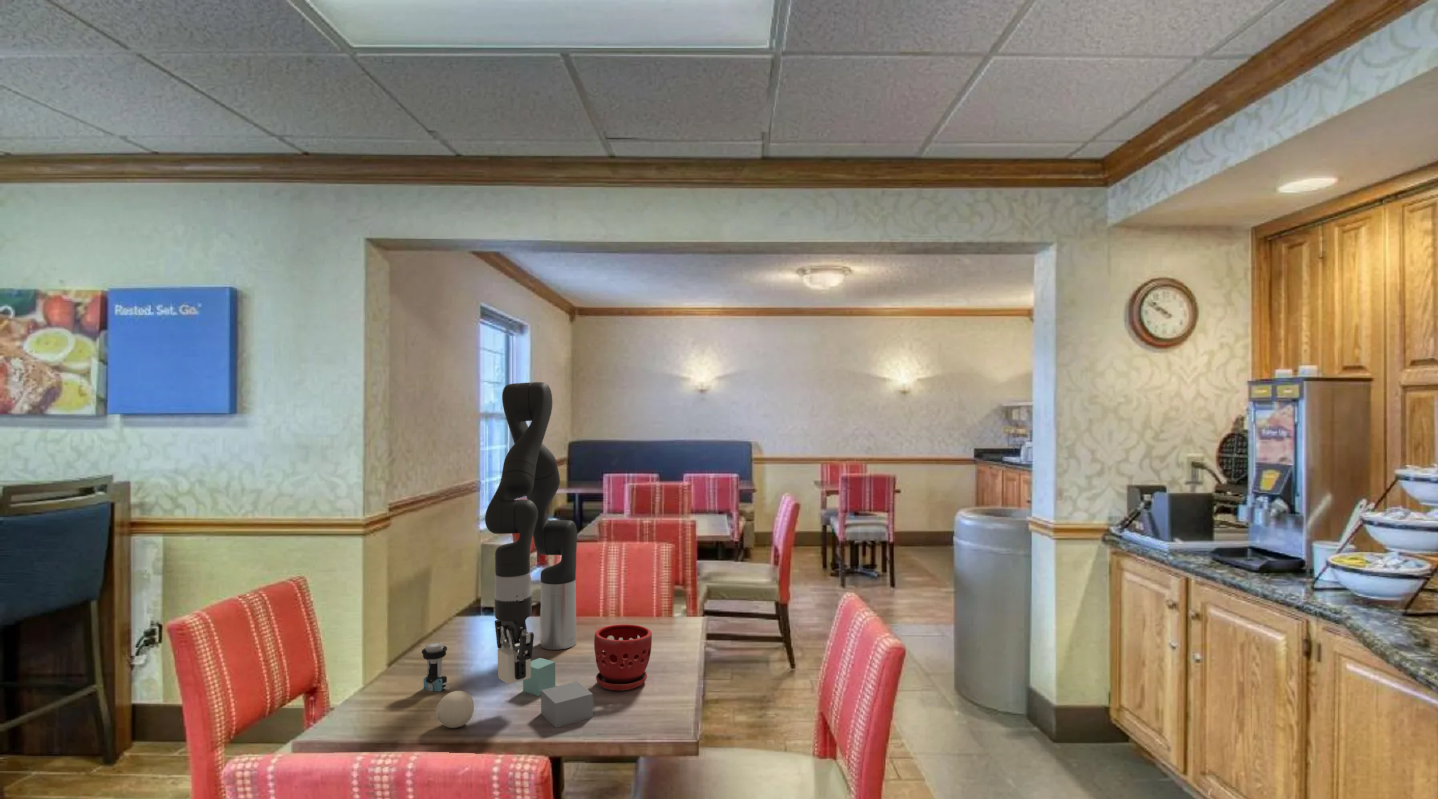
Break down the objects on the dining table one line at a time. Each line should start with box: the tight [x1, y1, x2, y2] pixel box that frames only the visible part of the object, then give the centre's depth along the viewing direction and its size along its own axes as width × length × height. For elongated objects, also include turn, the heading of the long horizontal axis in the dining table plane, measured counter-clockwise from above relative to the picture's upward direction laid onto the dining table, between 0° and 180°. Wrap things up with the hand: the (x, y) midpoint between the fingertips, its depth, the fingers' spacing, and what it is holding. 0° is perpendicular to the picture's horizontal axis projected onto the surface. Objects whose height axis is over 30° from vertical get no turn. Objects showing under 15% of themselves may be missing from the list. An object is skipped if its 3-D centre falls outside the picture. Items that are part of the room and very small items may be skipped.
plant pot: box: [593, 623, 653, 691], centre depth 161 cm, size 13×13×12 cm
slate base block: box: [540, 681, 594, 729], centre depth 144 cm, size 8×8×5 cm
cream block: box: [497, 643, 532, 685], centre depth 148 cm, size 5×5×6 cm
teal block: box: [522, 657, 556, 697], centre depth 158 cm, size 5×5×6 cm
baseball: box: [434, 690, 475, 729], centre depth 140 cm, size 7×7×7 cm
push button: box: [421, 641, 452, 692], centre depth 158 cm, size 7×5×10 cm
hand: (514, 674), depth 148 cm, fingers closed on cream block, 5 cm apart
